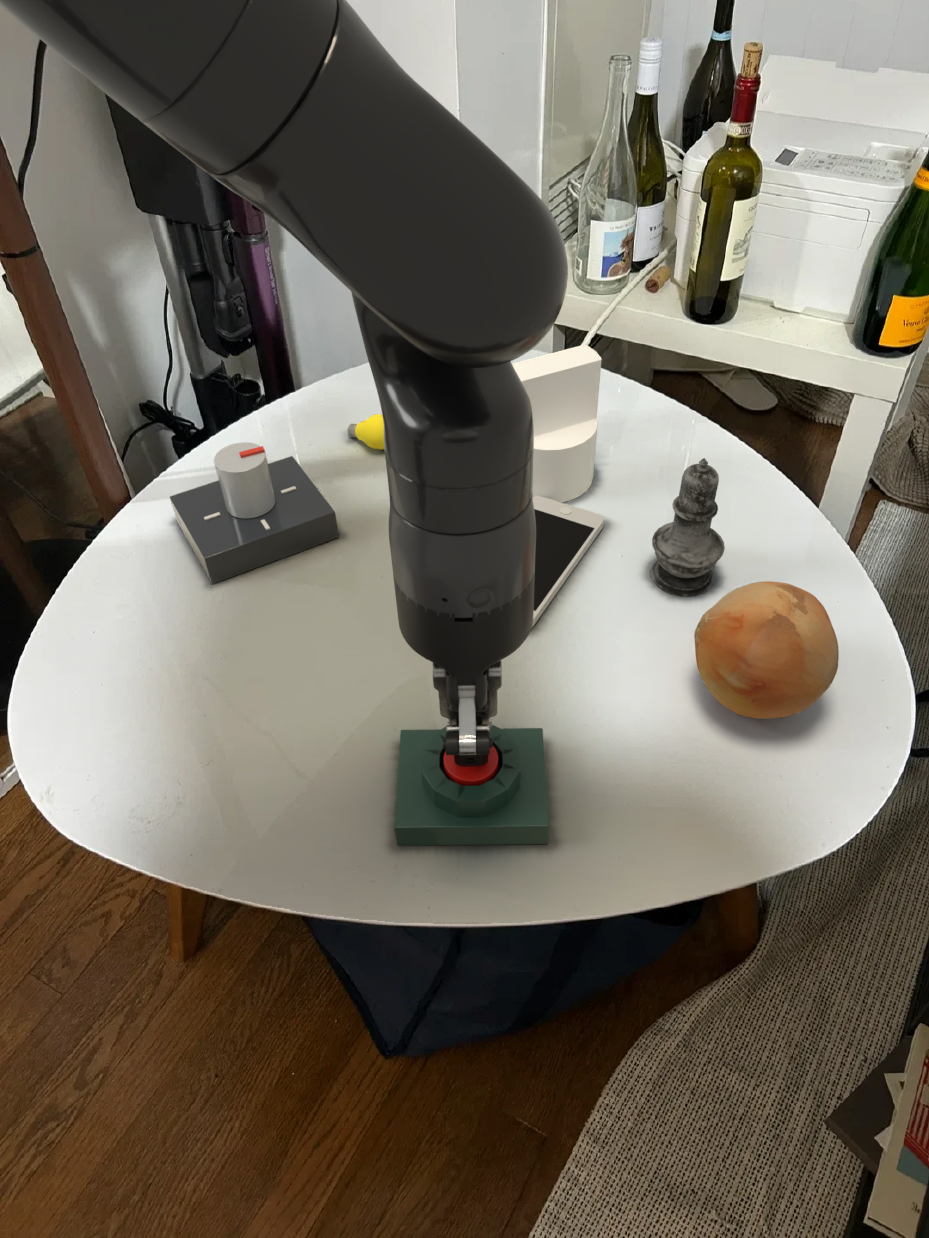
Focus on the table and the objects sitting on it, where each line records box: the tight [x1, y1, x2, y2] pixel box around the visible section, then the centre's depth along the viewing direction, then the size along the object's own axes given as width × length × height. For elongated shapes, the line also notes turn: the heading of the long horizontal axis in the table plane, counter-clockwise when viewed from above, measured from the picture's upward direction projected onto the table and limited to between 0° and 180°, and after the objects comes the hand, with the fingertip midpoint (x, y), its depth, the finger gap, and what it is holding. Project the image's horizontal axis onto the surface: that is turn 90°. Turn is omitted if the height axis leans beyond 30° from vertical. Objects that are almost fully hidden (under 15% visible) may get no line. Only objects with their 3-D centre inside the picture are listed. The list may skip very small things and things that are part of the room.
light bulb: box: [346, 413, 384, 451], centre depth 93 cm, size 3×6×4 cm, turn 57°
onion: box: [693, 580, 840, 720], centre depth 66 cm, size 10×10×10 cm
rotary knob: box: [213, 441, 276, 519], centre depth 80 cm, size 4×4×5 cm
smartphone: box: [532, 495, 606, 628], centre depth 80 cm, size 7×16×1 cm, turn 151°
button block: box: [393, 724, 550, 847], centre depth 62 cm, size 10×8×4 cm
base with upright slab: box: [512, 344, 603, 503], centre depth 85 cm, size 9×9×12 cm
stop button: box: [444, 745, 498, 786], centre depth 61 cm, size 4×4×2 cm
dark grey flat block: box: [169, 455, 340, 585], centre depth 83 cm, size 12×10×3 cm
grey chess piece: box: [650, 457, 726, 597], centre depth 74 cm, size 6×6×12 cm
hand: (471, 756), depth 61 cm, fingers closed
